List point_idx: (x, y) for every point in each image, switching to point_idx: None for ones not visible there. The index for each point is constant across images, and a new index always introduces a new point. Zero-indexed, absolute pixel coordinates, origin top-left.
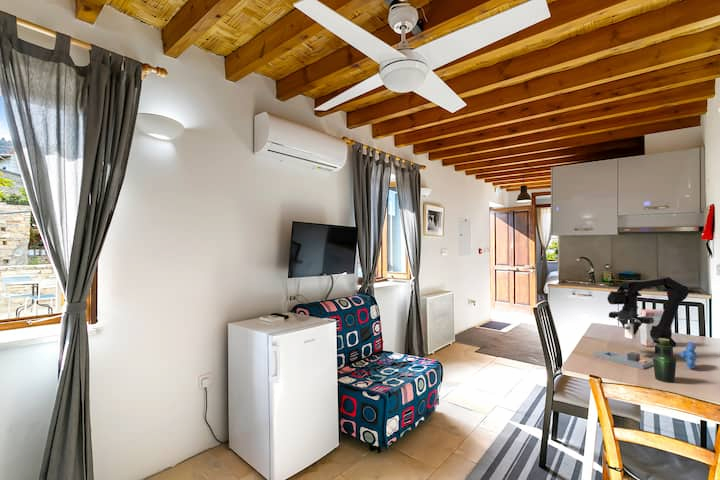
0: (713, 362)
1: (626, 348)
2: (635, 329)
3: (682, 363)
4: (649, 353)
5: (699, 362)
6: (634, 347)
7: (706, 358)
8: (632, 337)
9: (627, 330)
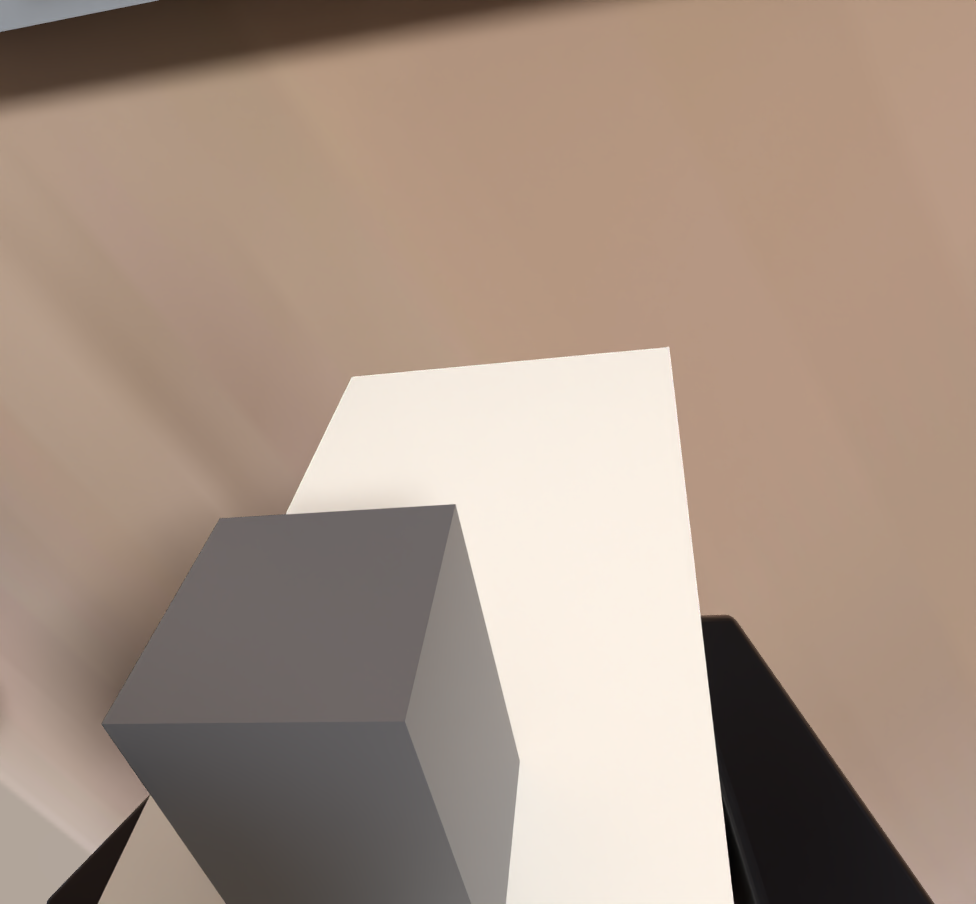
0: (58, 827)
1: (902, 648)
2: (99, 863)
3: (51, 581)
4: None
5: (71, 747)
6: (839, 766)
7: None
8: (339, 427)
9: (507, 637)
